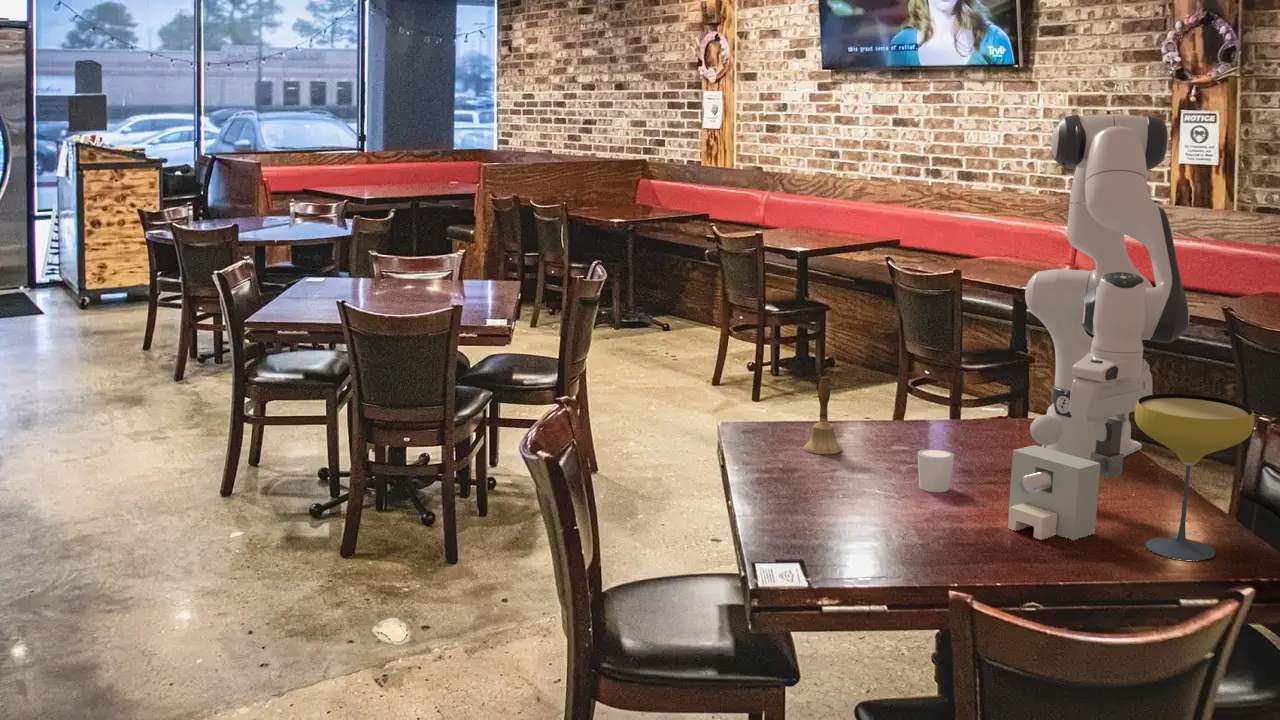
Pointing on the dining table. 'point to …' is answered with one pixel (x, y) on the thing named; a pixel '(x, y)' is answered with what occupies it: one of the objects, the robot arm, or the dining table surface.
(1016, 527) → the block
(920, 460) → the white cup
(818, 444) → the hand bell
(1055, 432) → the lollipop
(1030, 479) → the hammer
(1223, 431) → the cocktail glass
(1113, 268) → the robot arm
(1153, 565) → the dining table surface
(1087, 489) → the grey slotted block
